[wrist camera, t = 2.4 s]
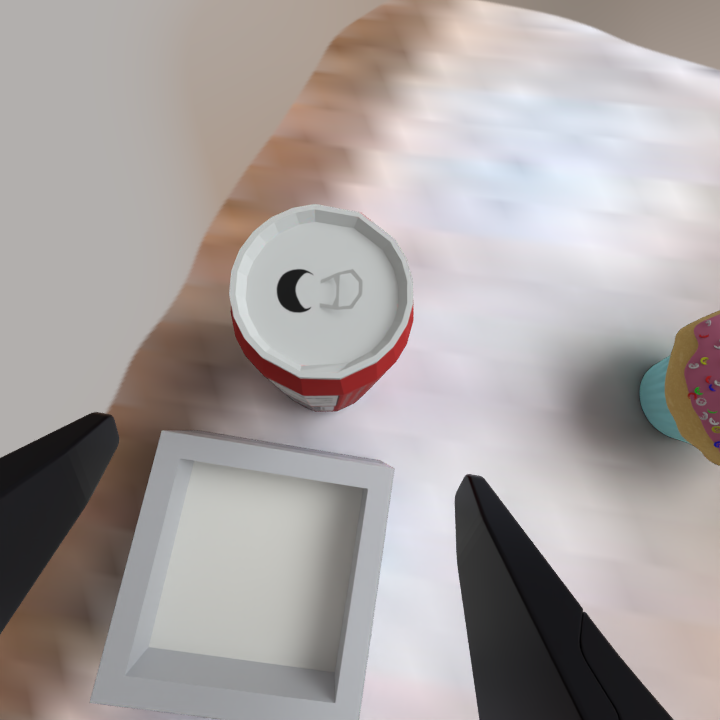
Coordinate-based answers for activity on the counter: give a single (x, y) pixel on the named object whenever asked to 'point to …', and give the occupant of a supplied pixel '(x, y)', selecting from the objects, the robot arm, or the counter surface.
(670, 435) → the cupcake
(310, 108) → the counter surface
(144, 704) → the socket block
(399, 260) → the soda can
